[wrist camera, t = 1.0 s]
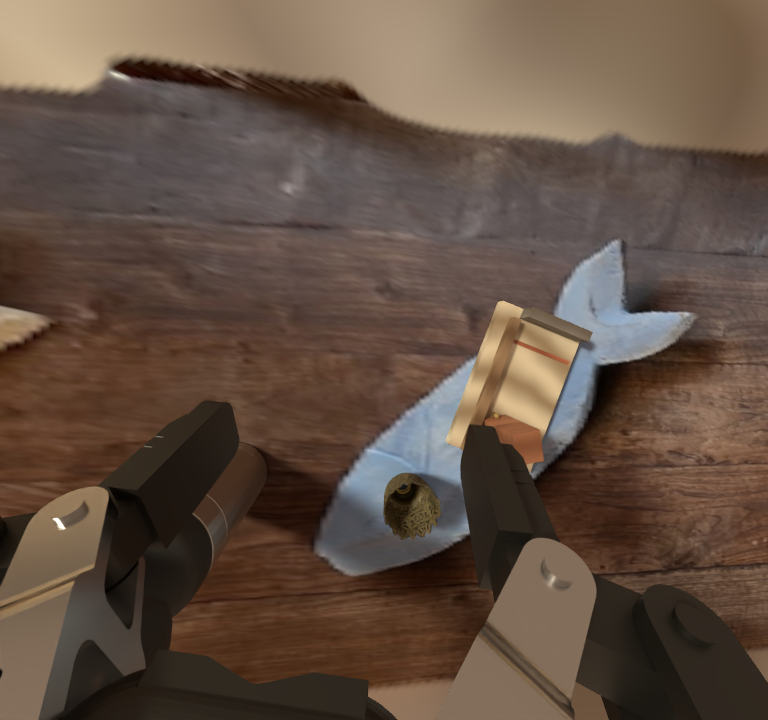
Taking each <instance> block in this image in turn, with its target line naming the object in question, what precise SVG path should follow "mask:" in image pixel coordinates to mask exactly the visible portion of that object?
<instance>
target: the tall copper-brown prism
mask: <svg viewBox="0 0 768 720" xmlns="http://www.w3.org/2000/svg"><path fill="white" fill-rule="evenodd" d="M491 415H492V416H493V417H489V418H484V421H483V425H486V426H494V427H495V429H496V432H497V434H498V437H499V440H500V443H503V444H511V445H512V446H513V447H514V448H515V449H516V450H517V451H518V452H519V453H520V454H521V456H522V457H523V458H524V461H525V463H526V465H527V464H532V463H536V462H541V461H544V458H543V450H542V443H541V435H540V430H539V429H537V428H535V427H533V426H530V425H528V424H526V423H524V422H521V421H519V420H517V419H514V418H512V417H510V416H508V415H505V414H504V415H499V414H497V413H495V412H492V413H491Z"/></svg>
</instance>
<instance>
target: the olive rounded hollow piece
mask: <svg viewBox="0 0 768 720" xmlns="http://www.w3.org/2000/svg"><path fill="white" fill-rule="evenodd" d="M403 484H405V485H408V486H407V488H406V489H403V490H401V489H399V488H400V487H402V486H403ZM439 504H440V501H439V499H438V498H437V496H436V495H435V493H434V491H433V490H432V489H431V488H430V487H429V486H428V484H427V483H426V482H425V481H424V480H423V479H421V478H420V477H419V476H417V475H415V474H412V473H402V474H399V475H397V476H395V477H394V478H393V479H391V481H390V482H389V483H388V485H387V487H386V490H385V494H384V519H385V524H386V525H387V524H388V525H389V527H390V528H392V531H393V533H394V535H398V536H399V537H400V539H401V540H405V539H406V538H408V537H410V538H411V539H412V540H415V538H416V534H417V535H418V536H421V537H424V536H425V534H426V533H428V534H430V533H431V530H432V524H433V525H434V526H437V521H436V519H437V518H439V517H440V516H441V509H440V505H439Z"/></svg>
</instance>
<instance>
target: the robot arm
mask: <svg viewBox="0 0 768 720" xmlns="http://www.w3.org/2000/svg"><path fill="white" fill-rule="evenodd" d="M460 470H461V482H462V488H463V494H464V500H465V506H466V512H467V518H468V524H469V530H470V536H471V542H472V548H473V554H474V560H475V566H476V572H477V578H478V584H479V588H482V589H490V590H492V591H493V596H494V601H495V605H494V607H493V609H492V611H491V613H490V615H489V617H488V619H487V621H486V623H485V624H484V626H482V628H481V630H480V631H479V633H478V635H477V637H476V639H475V641H474V643H473V645H472V647H471V649H470V651H469V653H468V655H467V657H466V658H465V660H464V662H463V664H462V666H461V668H460V670H459V672H458V674H457V676H456V678H455V680H454V682H453V684H452V686H451V688H450V690H449V692H448V694H447V696H446V698H445V700H444V702H443V704H442V706H441V708H440V710H439V712H438V714H437V716H436V717H435V719H434V720H574V709H573V708H572V707H571V699H572V693H573V689H574V684H575V682H577V683H579V684H581V685H583V686H585V687H587V688H588V689H590V690H592V691H594V692H595V693H597V694H599V695H601V697H602V700H603V703H604V706H605V709H606V712H607V715H608V718H609V720H768V682H767V681H766V680H765V678H764V677H763V675H762V674H761V672H760V671H759V670H758V668H757V667H756V665H755V664H754V662H753V661H752V660H751V658H750V657H749V655H748V654H747V652H746V651H745V650H744V648H743V647H742V645H741V644H740V642H739V641H738V640H737V638H736V637H735V635H734V634H733V633H732V631H731V630H730V629H729V627H728V626H727V625H726V624H725V623H724V622H723V621H722V620H721V619H720V618H719V617H718V616H717V615H716V614H715V613H714V612H713V611H712V610H711V609H710V608H708V607H707V606H706V605H705V604H703V603H702V602H701V601H699V600H698V599H696V598H695V597H693V596H692V595H690V594H688V593H686V592H684V591H682V590H680V589H678V588H675V587H672V586H668V585H662V584H658V585H653V586H650V587H649V588H648V589H647V590H646V591H645V592H644V594H643V595H641V594H639V593H637V592H634V591H632V590H630V589H627V588H625V587H623V586H620V585H618V584H615V583H613V582H611V581H608V580H606V579H604V578H601V577H599V576H597V575H595V574H593V573H592V572H590V570H589V568H588V567H587V565H586V564H585V563H584V562H583V560H582V559H581V558H580V557H579V556H578V555H577V554H576V553H575V552H573V551H572V550H571V549H569V548H568V547H567V546H565V545H563V544H561V543H560V541H559V539H558V537H557V535H556V533H555V530H554V528H553V526H552V523H551V521H550V519H549V516H548V514H547V512H546V509H545V507H544V505H543V503H542V500H541V498H540V496H539V493H538V491H537V489H536V487H535V486H534V485H535V484H534V482H533V479H532V477H531V475H529V470H528V468H527V465H526V463H525V461H524V458H523V457H522V456H521V454H520V453H519V452H518V451H517V450H516V449H515V448H514V447H513V446H512V445H511V444H503V443H500V440H499V437H498V434H497V432H496V429H495V427H494V426H486V425H475V424H470V425H469V426H468V430H467V434H466V439H465V444H464V449H463V453H462V458H461V469H460ZM266 479H267V465H266V462H265V460H264V458H263V456H262V455H261V453H260V452H259V451H258V450H257V449H255V448H254V447H253V446H251V445H248V444H246V443H242V442H239V435H238V431H237V426H236V422H235V418H234V414H233V409H232V406H231V405H230V404H229V403H227V402H216V401H203V402H201V403H200V404H199V405H198V406H197V407H196V408H195V409H194V410H192V411H191V412H190V413H189V414H186V415H184V416H182V417H180V418H178V419H176V420H175V421H173V422H171V423H169V424H168V425H167V426H166V427H164V428H163V429H162V430H161V431H160V432H159V433H158V434H156V437H155V438H152V439H151V440H150V441H148V442H147V443H146V444H145V446H144V448H140V449H139V450H138V451H137V452H136V453H135V454H134V455H132V456H131V457H130V458H129V459H128V460H127V461H126V462H124V463H123V464H122V465H121V466H120V467H119V468H118V469H116V470H115V471H114V472H113V473H112V474H111V475H109V476H108V477H107V478H106V479H105V480H104V481H103V482H101V483H100V484H99V485H98V486H97V487H86V488H82V489H78V490H75V491H72V492H69V493H67V494H65V495H63V496H61V497H59V498H57V499H55V500H54V501H52V502H50V503H49V504H47V505H46V506H45V507H43V508H42V509H41V510H40V511H39V512H37V513H30V514H24V515H18V516H12V517H6V518H1V516H0V720H397V719H396V718H395V717H394V716H393V715H392V714H391V713H390V712H389V711H388V710H387V709H385V708H384V707H383V706H382V705H381V704H379V703H377V702H376V701H374V700H373V699H371V698H369V697H368V680H361V679H355V678H348V677H342V676H335V675H328V674H322V673H310V674H305V675H301V676H296V677H291V678H286V679H281V680H277V681H272V682H267V683H262V684H252V683H250V682H248V681H246V680H245V679H243V678H242V677H240V676H238V675H237V674H235V673H234V672H232V671H231V670H229V669H227V668H226V667H224V666H223V665H221V664H219V663H218V662H216V661H215V660H213V659H212V658H210V657H208V656H202V655H196V654H189V653H182V652H176V651H169V647H170V642H171V633H172V617H174V616H175V615H176V614H178V613H179V612H180V611H181V610H182V609H183V608H184V607H185V606H186V605H187V604H188V603H189V602H190V600H191V599H192V598H193V596H194V595H195V594H196V592H197V591H198V589H199V588H200V586H201V584H202V583H203V581H204V580H205V578H206V577H207V575H208V573H209V572H210V570H211V569H212V567H213V566H214V564H215V562H216V561H217V559H218V558H219V556H220V554H221V553H222V551H223V550H224V548H225V546H226V545H227V543H228V542H229V540H230V539H231V537H232V536H233V534H234V532H235V531H236V529H237V528H238V526H239V525H240V523H241V521H242V520H243V518H244V517H245V515H246V514H247V512H248V510H249V509H250V507H251V506H252V504H253V503H254V501H255V500H256V498H257V497H258V495H259V493H260V492H261V490H262V489H263V487H264V485H265V482H266Z"/></svg>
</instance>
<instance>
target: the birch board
mask: <svg viewBox="0 0 768 720" xmlns="http://www.w3.org/2000/svg"><path fill="white" fill-rule="evenodd" d="M592 333H593V332H591V331H589V330H586V329H584V328H581V327H579V326H577V325H574V324H572V323H570V322H567V321H565V320H563V319H560V318H558V317H555V316H553V315H551V314H548V313H546V312H544V311H541V310H539V309H537V308H534V307H531V308H527V309H521V308H519V307H517V306H514V305H512V304H510V303H507V302H505V301H500V302H498V303H497V306H496V309H495V311H494V314H493V317H492V319H491V322H490V324H489V327H488V330H487V332H486V335H485V338H484V340H483V343H482V346H481V348H480V351H479V354H478V356H477V359H476V362H475V364H474V367H473V369H472V372H471V375H470V377H469V380H468V383H467V385H466V388H465V391H464V393H463V396H462V399H461V401H460V404H459V407H458V409H457V412H456V414H455V417H454V420H453V422H452V425H451V428H450V430H449V433H448V436H447V438H446V442H447V443H448V444H450V445H453V446H456V447H459V448H461V449H462V450H463V449H464V444H465V439H466V434H467V430H468V426H469V425H470V424H475V425H483V421H484V418H489V417H493V416H492V415H491V413H492V412H495V413H497V414H499V415H504V414H505V415H508V416H510V417H512V418H514V419H517V420H519V421H521V422H524V423H526V424H528V425H530V426H533V427H535V428H537V429H539V430H540V435H541V443H542V440H543V437H544V435H545V432H546V429H547V427H548V424H549V422H550V419H551V416H552V414H553V411H554V408H555V406H556V403H557V400H558V398H559V395H560V393H561V390H562V387H563V385H564V382H565V379H566V377H567V374H568V371H569V369H570V366H571V363H572V361H573V358H574V356H575V353H576V350H577V348H578V345H579V342H589V341H590V338H591V335H592ZM533 464H534V463H532V464H527V468H528V470H529V472H531V469H532V466H533Z"/></svg>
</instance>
